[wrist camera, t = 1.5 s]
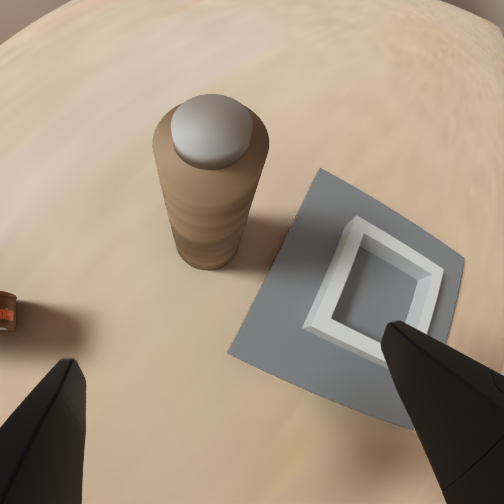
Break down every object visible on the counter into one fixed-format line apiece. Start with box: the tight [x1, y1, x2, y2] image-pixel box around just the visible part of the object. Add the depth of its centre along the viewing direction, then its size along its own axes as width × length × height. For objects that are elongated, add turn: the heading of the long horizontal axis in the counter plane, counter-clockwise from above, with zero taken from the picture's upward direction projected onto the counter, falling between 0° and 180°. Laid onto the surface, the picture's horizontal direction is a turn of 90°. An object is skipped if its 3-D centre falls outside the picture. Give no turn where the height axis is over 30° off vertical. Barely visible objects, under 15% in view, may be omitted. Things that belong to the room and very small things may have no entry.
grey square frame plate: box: [227, 168, 465, 430], centre depth 22 cm, size 16×16×3 cm
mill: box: [153, 94, 269, 270], centre depth 17 cm, size 5×5×13 cm
